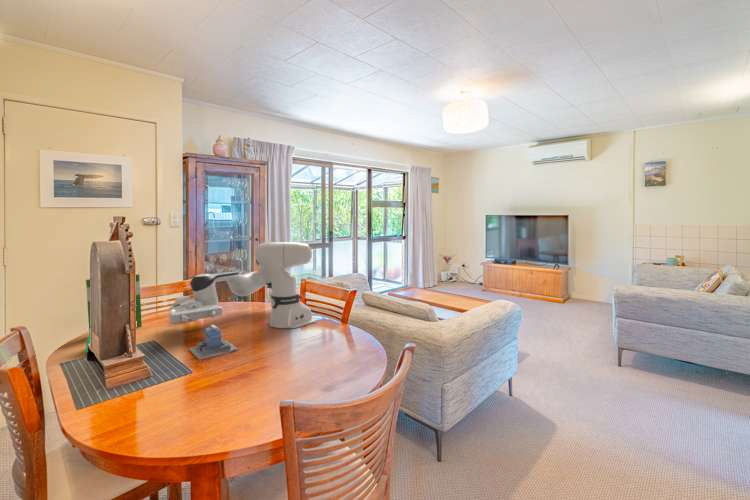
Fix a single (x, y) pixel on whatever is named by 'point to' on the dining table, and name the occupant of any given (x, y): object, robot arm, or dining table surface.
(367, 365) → the dining table surface
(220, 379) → the dining table surface
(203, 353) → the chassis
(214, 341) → the servo
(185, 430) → the dining table surface
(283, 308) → the robot arm
